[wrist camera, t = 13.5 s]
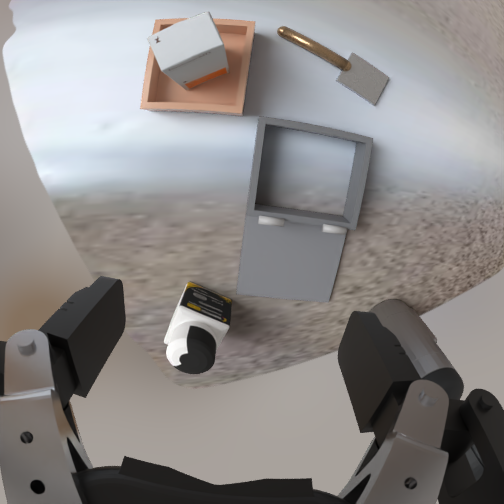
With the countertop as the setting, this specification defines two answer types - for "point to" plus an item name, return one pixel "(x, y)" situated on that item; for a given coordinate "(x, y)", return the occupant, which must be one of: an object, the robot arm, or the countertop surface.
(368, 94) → the hand shovel
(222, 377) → the countertop surface
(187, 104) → the bin
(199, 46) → the skincare box
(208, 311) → the medicine bottle
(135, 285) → the countertop surface
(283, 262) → the bin
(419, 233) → the countertop surface
